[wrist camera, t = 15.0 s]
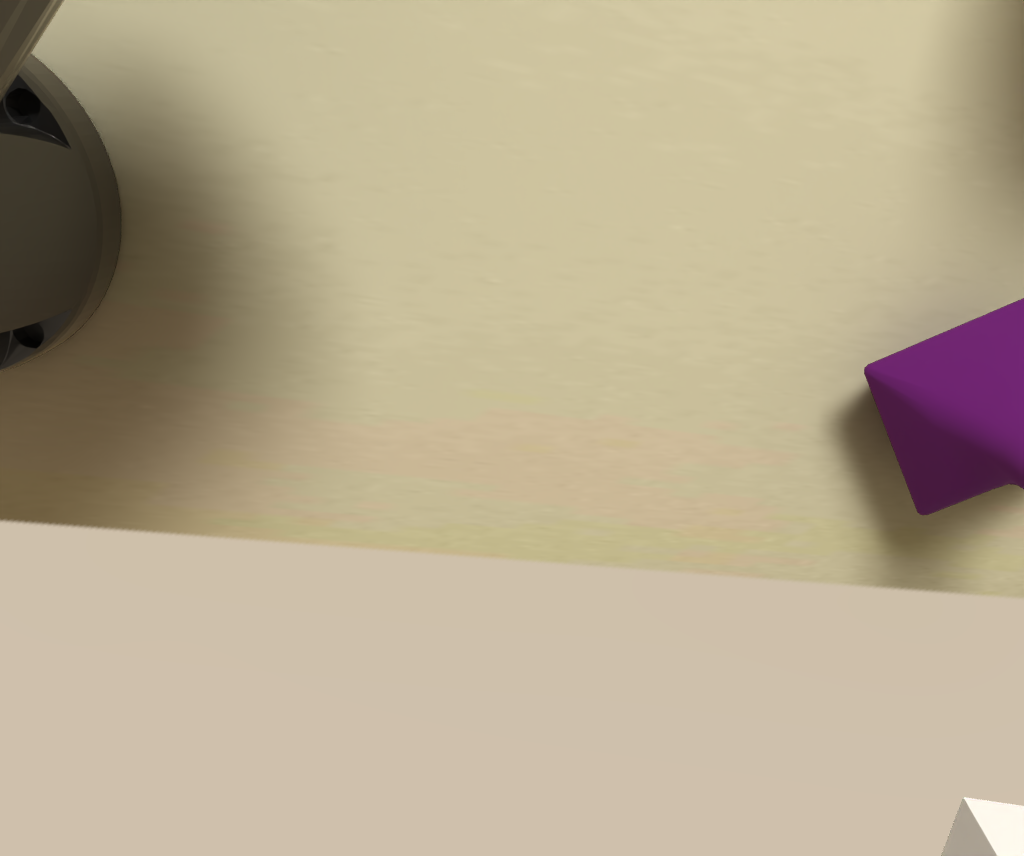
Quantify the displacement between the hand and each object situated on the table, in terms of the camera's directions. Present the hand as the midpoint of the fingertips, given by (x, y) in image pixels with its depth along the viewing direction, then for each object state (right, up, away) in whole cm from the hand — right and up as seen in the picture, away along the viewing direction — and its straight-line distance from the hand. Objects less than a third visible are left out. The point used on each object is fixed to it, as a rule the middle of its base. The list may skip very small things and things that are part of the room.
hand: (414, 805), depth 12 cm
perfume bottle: (+21, +7, +32) cm, 39 cm away
